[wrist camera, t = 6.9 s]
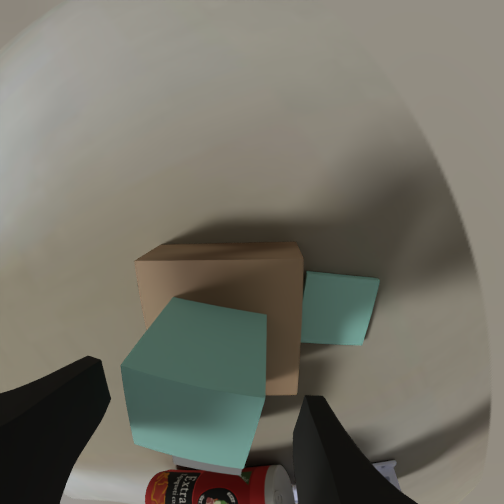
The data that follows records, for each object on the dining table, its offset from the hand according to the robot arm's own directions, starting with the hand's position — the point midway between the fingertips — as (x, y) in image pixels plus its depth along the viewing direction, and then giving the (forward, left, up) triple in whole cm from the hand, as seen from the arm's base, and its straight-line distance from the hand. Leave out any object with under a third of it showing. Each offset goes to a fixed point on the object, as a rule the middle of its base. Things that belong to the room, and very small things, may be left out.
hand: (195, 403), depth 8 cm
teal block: (0, 0, -4) cm, 4 cm away
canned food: (+4, +20, -3) cm, 21 cm away
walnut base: (0, -1, -7) cm, 7 cm away
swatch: (-6, -1, -7) cm, 9 cm away
